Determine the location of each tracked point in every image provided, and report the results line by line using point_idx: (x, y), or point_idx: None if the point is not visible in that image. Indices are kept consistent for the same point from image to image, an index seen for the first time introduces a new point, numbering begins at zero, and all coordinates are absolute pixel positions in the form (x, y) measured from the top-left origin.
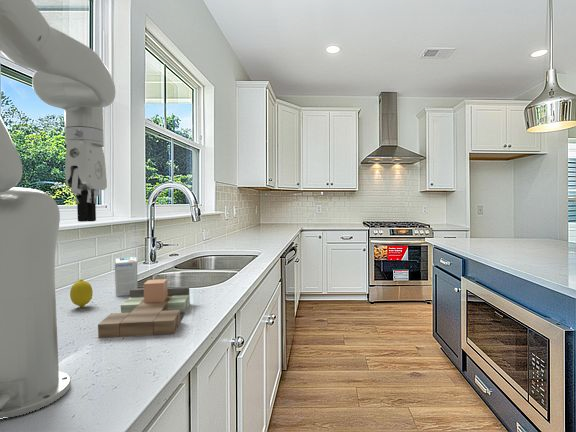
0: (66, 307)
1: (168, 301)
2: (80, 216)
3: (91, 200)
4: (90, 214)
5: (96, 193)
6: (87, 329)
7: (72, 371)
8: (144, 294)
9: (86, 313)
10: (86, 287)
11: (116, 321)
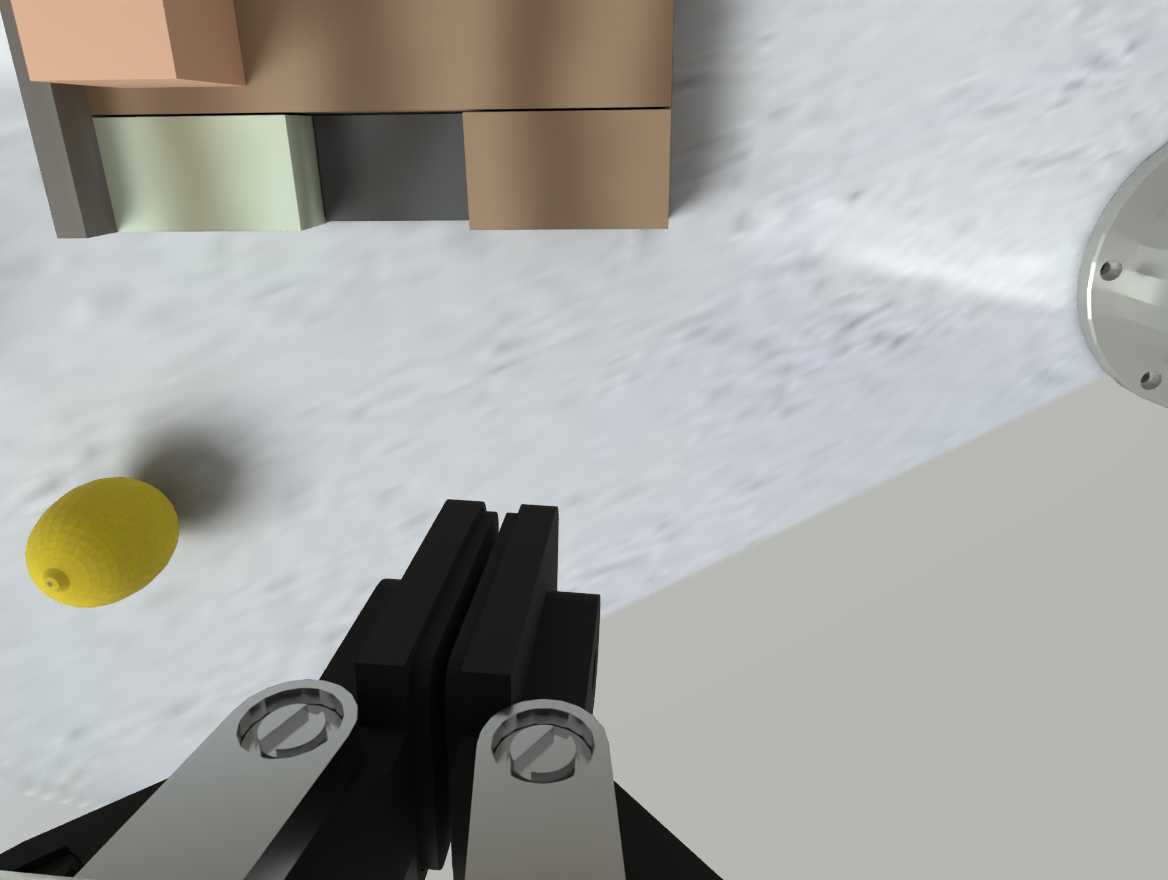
0: (157, 577)
1: None
2: (595, 679)
3: (480, 739)
4: (547, 579)
5: (82, 873)
6: (522, 328)
7: (1050, 177)
8: (217, 78)
9: (260, 437)
10: (100, 522)
11: (633, 138)
